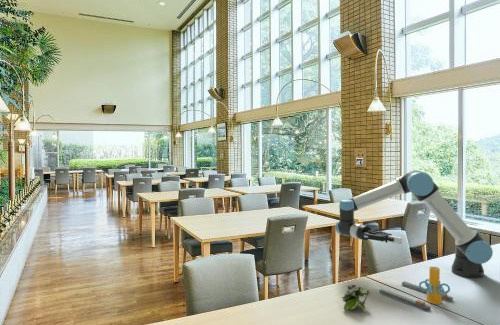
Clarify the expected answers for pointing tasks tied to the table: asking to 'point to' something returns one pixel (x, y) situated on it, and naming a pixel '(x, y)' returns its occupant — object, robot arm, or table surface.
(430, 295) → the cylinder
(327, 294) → the table surface
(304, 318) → the table surface
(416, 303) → the guide track
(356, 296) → the passion flower
